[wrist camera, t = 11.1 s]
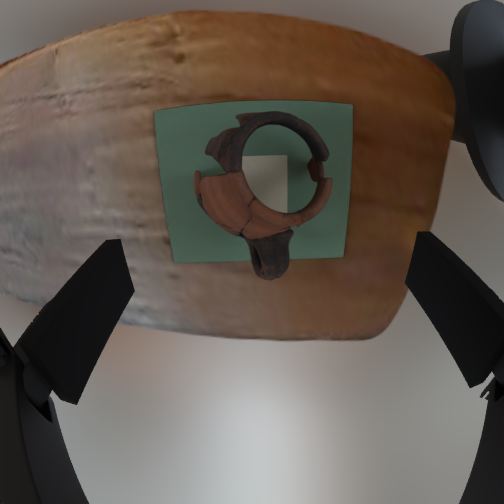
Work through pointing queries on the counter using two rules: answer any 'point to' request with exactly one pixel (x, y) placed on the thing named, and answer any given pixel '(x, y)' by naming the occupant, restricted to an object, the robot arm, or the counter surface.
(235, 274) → the counter surface
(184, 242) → the centre mat
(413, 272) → the robot arm
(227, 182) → the broken pottery ring
